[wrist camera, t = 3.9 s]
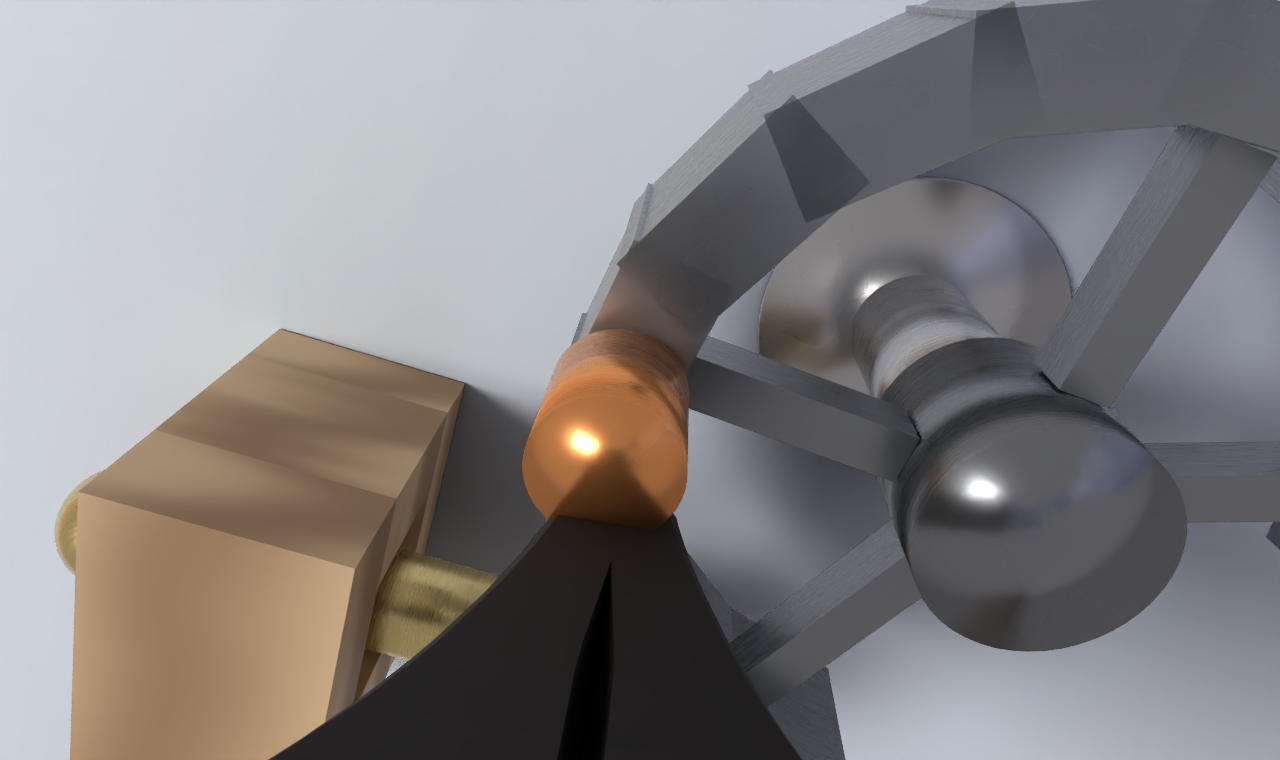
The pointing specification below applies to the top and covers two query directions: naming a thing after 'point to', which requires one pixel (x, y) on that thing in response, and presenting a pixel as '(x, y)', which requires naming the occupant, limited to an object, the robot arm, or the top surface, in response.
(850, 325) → the axle post
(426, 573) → the brass bar with knob
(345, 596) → the block
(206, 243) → the top surface
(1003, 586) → the locking wheel
